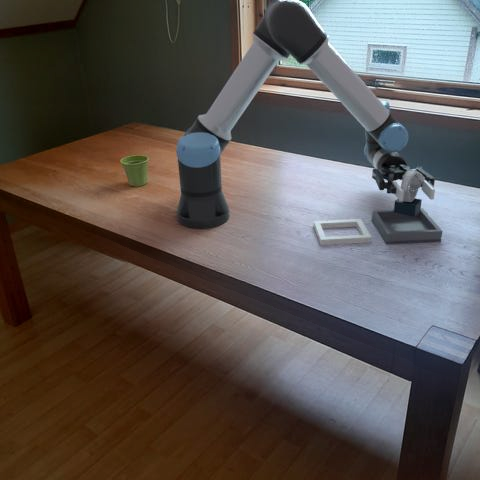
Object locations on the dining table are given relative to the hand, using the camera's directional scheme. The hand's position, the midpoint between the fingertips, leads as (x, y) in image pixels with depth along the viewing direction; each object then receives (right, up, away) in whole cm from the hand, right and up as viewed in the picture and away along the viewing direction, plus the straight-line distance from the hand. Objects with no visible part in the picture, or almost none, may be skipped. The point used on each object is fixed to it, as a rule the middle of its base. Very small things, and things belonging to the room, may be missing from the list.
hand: (417, 195), depth 128 cm
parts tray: (0, -9, +10) cm, 13 cm away
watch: (0, -4, +7) cm, 8 cm away
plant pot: (-79, +8, +48) cm, 93 cm away
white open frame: (-17, -10, +10) cm, 22 cm away
